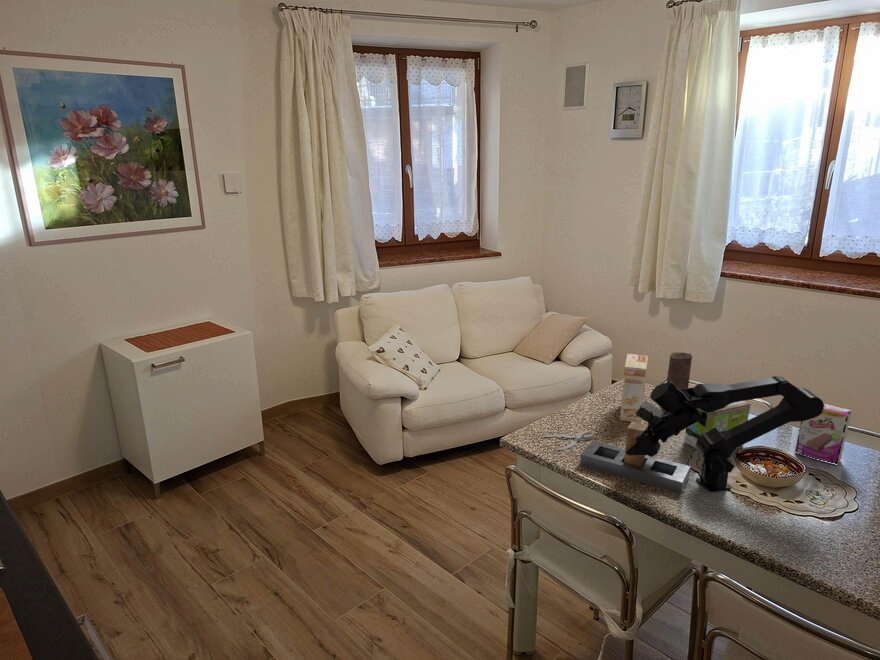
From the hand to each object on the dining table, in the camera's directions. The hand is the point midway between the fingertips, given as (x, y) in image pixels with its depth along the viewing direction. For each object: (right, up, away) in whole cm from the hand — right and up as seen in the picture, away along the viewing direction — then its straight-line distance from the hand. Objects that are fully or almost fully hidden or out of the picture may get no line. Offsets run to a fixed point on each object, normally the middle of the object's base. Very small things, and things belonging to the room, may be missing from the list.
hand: (631, 446), depth 166 cm
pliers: (-13, -2, +20) cm, 24 cm away
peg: (+1, -7, +2) cm, 7 cm away
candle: (+30, +5, +44) cm, 54 cm away
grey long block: (+1, -7, +2) cm, 7 cm away
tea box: (+31, -3, +17) cm, 35 cm away
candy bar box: (+58, -5, +9) cm, 59 cm away
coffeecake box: (+13, +4, +39) cm, 41 cm away
